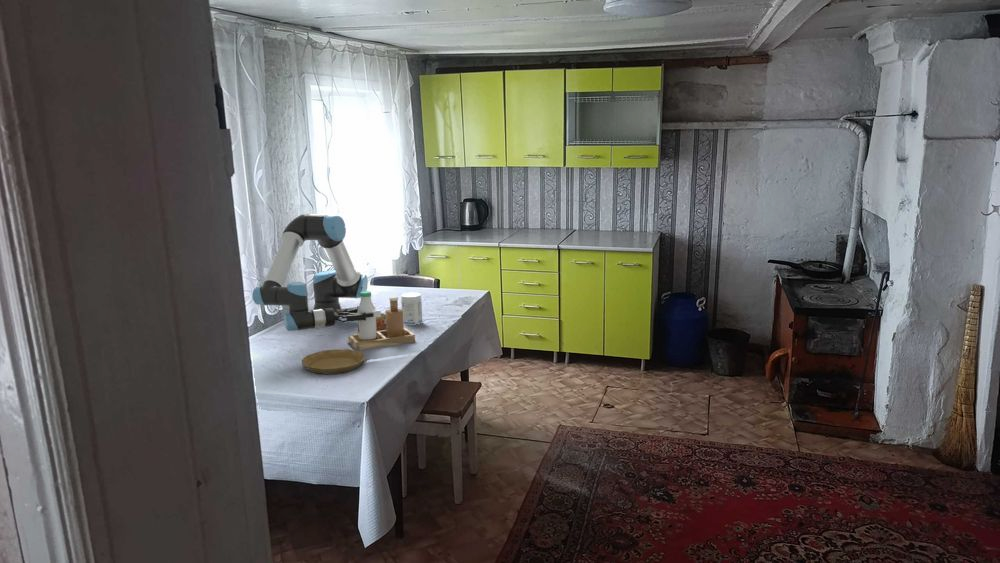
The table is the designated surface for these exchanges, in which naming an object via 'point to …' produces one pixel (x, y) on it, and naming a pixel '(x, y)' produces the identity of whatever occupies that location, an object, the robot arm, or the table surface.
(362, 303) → the milk bottle
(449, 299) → the table surface
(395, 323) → the brown bottle
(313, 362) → the plant saucer
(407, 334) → the divided wooden tray
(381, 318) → the tin
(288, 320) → the robot arm
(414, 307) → the supplement tub
